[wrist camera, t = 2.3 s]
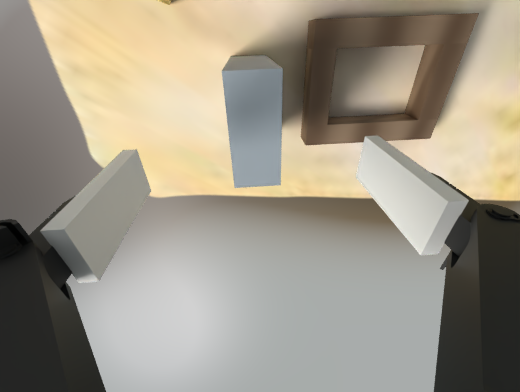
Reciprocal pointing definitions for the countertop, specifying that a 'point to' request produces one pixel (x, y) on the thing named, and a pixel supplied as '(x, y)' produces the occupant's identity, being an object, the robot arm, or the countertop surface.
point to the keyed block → (254, 119)
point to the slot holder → (378, 35)
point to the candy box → (165, 1)
